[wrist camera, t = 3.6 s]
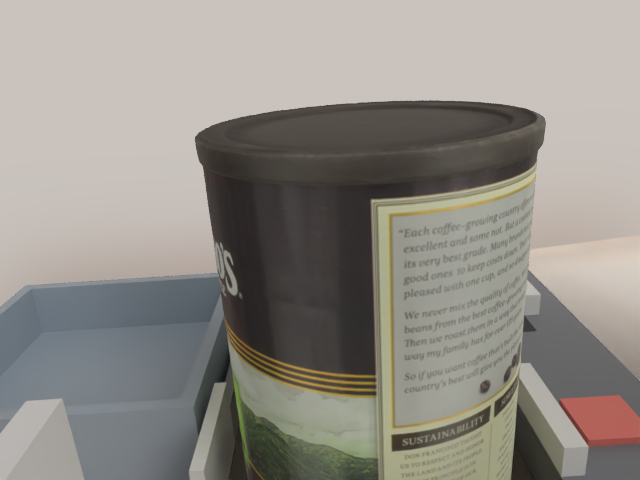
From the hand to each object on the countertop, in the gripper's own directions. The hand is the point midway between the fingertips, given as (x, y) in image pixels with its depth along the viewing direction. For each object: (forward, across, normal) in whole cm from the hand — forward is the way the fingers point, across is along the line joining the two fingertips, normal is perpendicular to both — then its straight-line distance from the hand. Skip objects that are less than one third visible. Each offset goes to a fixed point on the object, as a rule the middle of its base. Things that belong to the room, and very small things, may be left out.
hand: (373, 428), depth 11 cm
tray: (+14, -13, -8) cm, 21 cm away
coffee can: (+7, +1, -8) cm, 11 cm away
